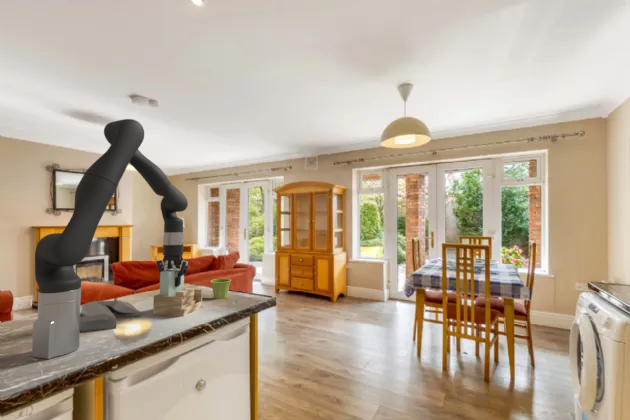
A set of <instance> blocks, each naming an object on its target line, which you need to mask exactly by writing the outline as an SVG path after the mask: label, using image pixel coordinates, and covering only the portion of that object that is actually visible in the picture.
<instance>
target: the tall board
mask: <svg viewBox="0 0 630 420" xmlns="http://www.w3.org/2000/svg"><path fill="white" fill-rule="evenodd" d="M184 287H185V275H183V276H181V284H180V286H178V287H175V272H174V271H173V269H172V270H168V271H163V270H162V272H160V273H159V294H160V296H172V297H175V292H176V291H179V290H182V289H185V288H184Z"/></svg>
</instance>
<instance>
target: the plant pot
mask: <svg viewBox="0 0 630 420" xmlns="http://www.w3.org/2000/svg"><path fill="white" fill-rule="evenodd" d="M231 282H232V279H230V278H216V279H212V280H210V284H211V287H212V292H213V294H212V295H213V299H215V300H217V299H218V300H227V299H228V295H229V291H230V290H229V288H230V284H231Z"/></svg>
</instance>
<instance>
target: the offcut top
mask: <svg viewBox="0 0 630 420" xmlns="http://www.w3.org/2000/svg"><path fill="white" fill-rule="evenodd" d="M194 289H195V288H187V287H185V288H184V289H182V290H179V291H176V292H175V297H183V299H184V298H187V297H190V296H193V295H194Z"/></svg>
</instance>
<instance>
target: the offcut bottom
mask: <svg viewBox="0 0 630 420" xmlns="http://www.w3.org/2000/svg"><path fill="white" fill-rule="evenodd" d="M193 304H196V300H194V301H193V302H190V303H188V304H186V305H184V306H183V309H184V308H186V307H189V306H191V305H193Z"/></svg>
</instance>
